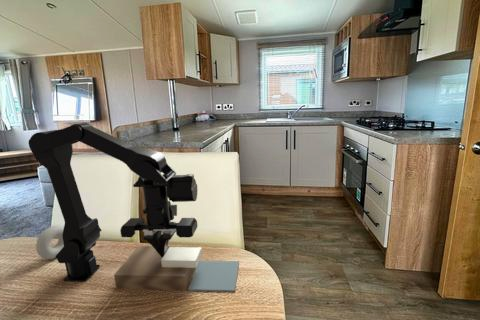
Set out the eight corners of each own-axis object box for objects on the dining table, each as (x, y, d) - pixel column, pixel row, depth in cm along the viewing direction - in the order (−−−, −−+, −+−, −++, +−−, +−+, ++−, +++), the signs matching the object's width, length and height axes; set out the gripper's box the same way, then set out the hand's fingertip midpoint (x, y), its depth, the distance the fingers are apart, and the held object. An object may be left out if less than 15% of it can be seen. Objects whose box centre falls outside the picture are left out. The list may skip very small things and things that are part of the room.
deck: (116, 288, 65) (113, 275, 64) (140, 258, 77) (138, 246, 76) (186, 290, 63) (184, 276, 62) (198, 258, 76) (197, 246, 75)
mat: (188, 290, 63) (188, 289, 63) (199, 261, 74) (199, 260, 74) (234, 291, 62) (234, 290, 62) (238, 262, 73) (238, 261, 73)
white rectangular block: (162, 267, 66) (161, 260, 66) (170, 253, 72) (169, 247, 71) (196, 267, 65) (195, 260, 65) (201, 254, 71) (201, 247, 71)
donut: (45, 266, 75) (37, 235, 73) (37, 265, 76) (29, 234, 74) (76, 248, 84) (70, 220, 82) (68, 246, 85) (62, 219, 83)
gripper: (199, 190, 72) (204, 240, 76) (136, 191, 74) (143, 240, 78) (189, 206, 62) (194, 263, 65) (114, 207, 63) (124, 263, 67)
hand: (163, 256), depth 69 cm, fingers closed
